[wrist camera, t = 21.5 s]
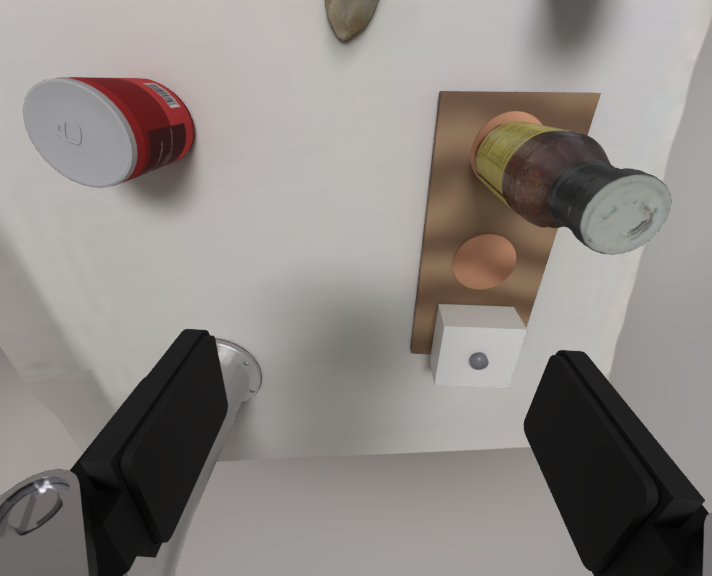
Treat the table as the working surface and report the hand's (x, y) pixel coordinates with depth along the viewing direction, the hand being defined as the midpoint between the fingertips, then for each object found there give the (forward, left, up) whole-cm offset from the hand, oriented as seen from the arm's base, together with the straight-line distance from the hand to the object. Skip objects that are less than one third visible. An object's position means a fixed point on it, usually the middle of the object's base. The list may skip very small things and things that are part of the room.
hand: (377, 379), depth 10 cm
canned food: (+3, +23, -31) cm, 38 cm away
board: (-9, -12, -31) cm, 34 cm away
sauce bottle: (+1, -12, -30) cm, 32 cm away
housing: (-21, -12, -30) cm, 38 cm away
